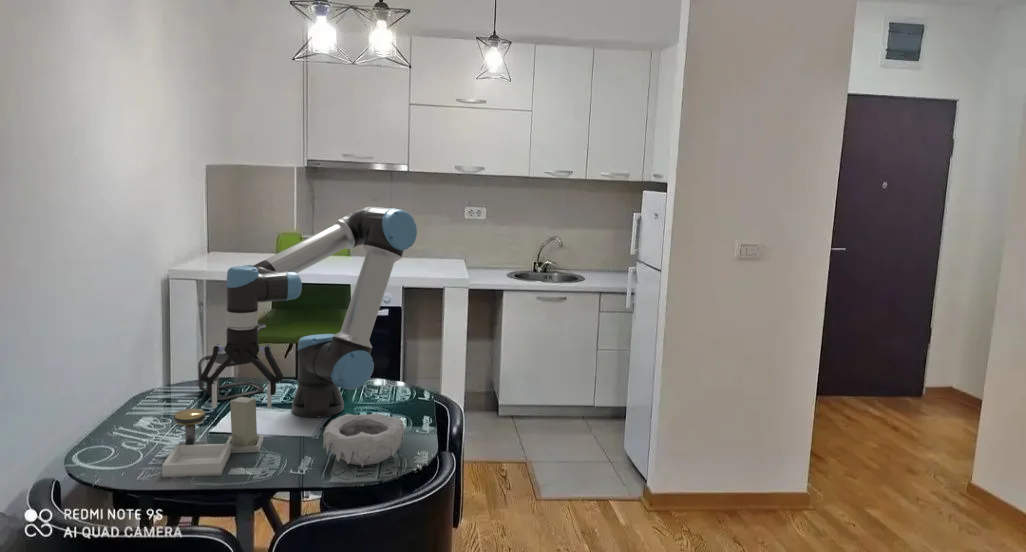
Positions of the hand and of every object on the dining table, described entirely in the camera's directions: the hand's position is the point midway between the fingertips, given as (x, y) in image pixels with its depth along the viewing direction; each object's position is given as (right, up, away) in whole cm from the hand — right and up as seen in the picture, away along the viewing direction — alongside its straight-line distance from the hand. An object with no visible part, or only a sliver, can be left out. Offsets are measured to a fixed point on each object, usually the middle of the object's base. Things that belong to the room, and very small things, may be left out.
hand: (242, 407), depth 198 cm
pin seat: (0, -11, +2) cm, 11 cm away
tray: (-7, -12, -11) cm, 18 cm away
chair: (-20, -4, +47) cm, 52 cm away
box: (0, -11, +2) cm, 11 cm away
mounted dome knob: (-13, -11, -2) cm, 17 cm away
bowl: (+33, -13, -4) cm, 35 cm away
